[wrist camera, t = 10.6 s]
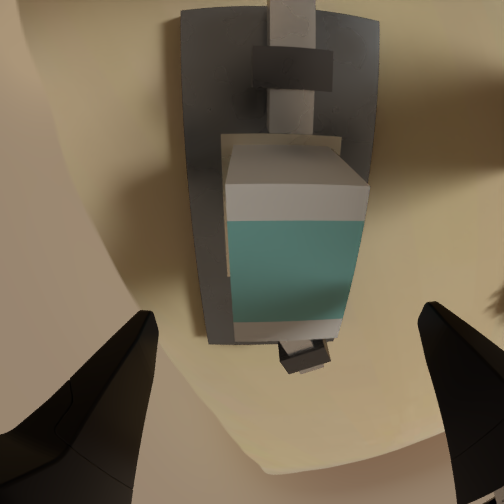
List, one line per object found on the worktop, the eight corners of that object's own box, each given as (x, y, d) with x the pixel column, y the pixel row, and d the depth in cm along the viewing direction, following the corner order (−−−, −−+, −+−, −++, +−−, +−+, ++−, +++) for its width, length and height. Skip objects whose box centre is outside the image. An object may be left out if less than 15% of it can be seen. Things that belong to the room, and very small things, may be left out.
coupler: (315, 265, 17) (337, 337, 12) (237, 266, 17) (235, 341, 12) (328, 146, 13) (370, 186, 9) (233, 145, 13) (225, 184, 8)
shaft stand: (371, 24, 10) (409, 12, 7) (330, 331, 21) (341, 374, 18) (184, 15, 10) (163, -6, 7) (209, 334, 21) (205, 378, 18)
